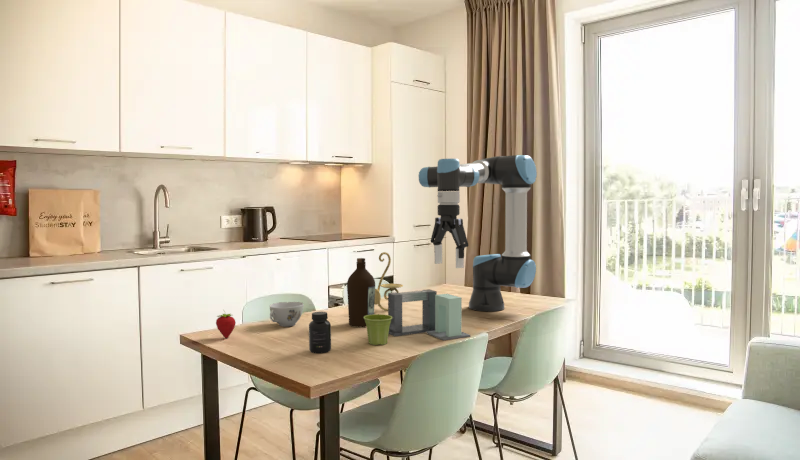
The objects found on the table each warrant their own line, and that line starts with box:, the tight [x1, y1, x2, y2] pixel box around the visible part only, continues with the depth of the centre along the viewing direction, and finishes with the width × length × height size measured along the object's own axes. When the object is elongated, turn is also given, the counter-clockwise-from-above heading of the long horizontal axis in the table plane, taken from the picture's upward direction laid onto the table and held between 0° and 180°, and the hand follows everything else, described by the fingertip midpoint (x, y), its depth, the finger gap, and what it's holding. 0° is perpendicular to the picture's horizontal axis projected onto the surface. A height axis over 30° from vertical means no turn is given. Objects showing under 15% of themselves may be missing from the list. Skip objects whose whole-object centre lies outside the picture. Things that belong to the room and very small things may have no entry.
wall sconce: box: [374, 251, 404, 312], centre depth 236 cm, size 14×10×25 cm
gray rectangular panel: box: [425, 331, 471, 341], centre depth 195 cm, size 11×11×1 cm
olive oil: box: [346, 257, 376, 328], centre depth 210 cm, size 11×11×25 cm
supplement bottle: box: [308, 311, 332, 355], centre depth 175 cm, size 7×7×12 cm
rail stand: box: [387, 289, 438, 337], centre depth 200 cm, size 19×8×14 cm, turn 118°
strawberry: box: [215, 310, 236, 339], centre depth 191 cm, size 6×8×10 cm
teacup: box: [269, 301, 304, 328], centre depth 209 cm, size 15×12×8 cm
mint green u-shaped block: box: [435, 293, 463, 337], centre depth 194 cm, size 5×9×13 cm, turn 28°
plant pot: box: [364, 313, 392, 346], centre depth 184 cm, size 9×9×9 cm
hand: (448, 265), depth 194 cm, fingers open, 13 cm apart
